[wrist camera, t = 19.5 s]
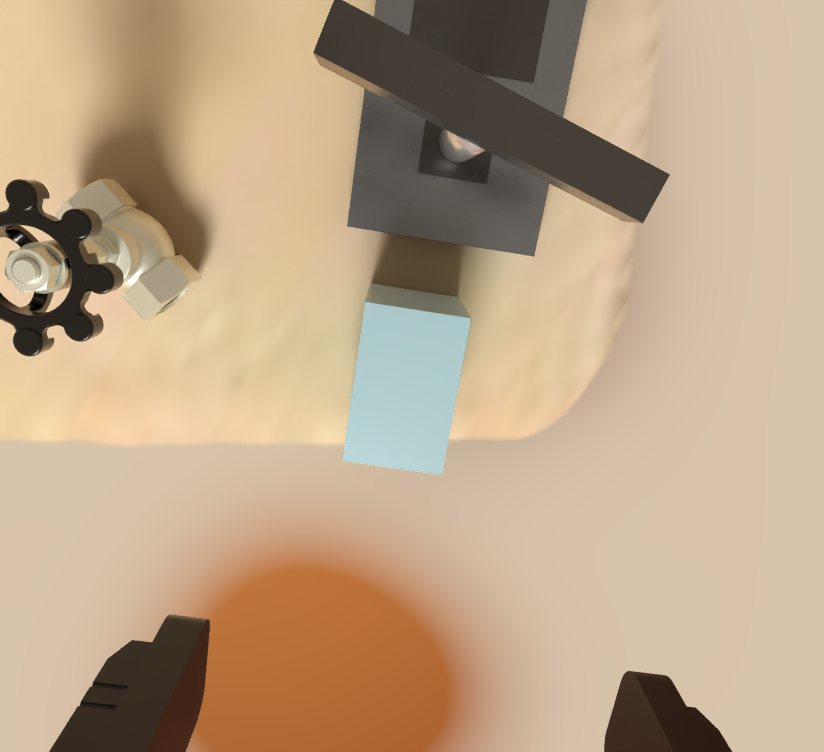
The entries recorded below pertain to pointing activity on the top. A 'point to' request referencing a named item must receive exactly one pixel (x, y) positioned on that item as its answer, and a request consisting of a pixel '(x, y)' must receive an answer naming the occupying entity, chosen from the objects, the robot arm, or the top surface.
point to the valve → (86, 261)
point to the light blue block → (406, 379)
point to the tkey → (485, 115)
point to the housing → (419, 139)
